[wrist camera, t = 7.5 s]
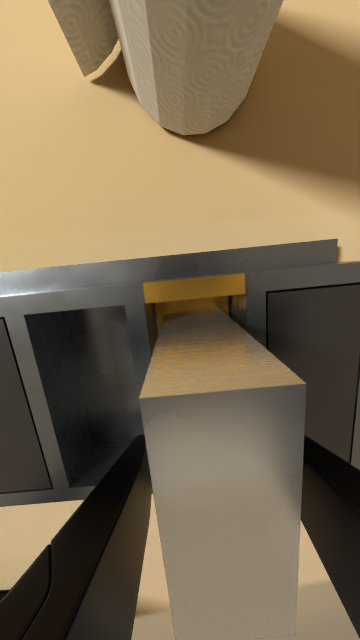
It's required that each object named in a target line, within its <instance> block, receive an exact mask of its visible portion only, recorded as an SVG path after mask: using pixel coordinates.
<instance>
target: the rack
mask: <svg viewBox="0 0 360 640" xmlns="http://www.w3.org/2000/svg"><path fill="white" fill-rule="evenodd" d="M337 242H338V239H330V240H320V241H310V242H300V243H290V244H280V245H270V246H260V247H250V248H240V249H230V250H220V251H210V252H200V253H190V254H180V255H170V256H159V257H149V258H139V259H129V260H119V261H109V262H99V263H89V264H79V265H69V266H59V267H49V268H39V269H29V270H19V271H9V272H0V507H4V506H15V505H27V504H38V503H50V502H61V501H73V500H84V499H86V498H87V496H88V495H89V494H90V493H91V491H92V490H93V489H94V488H95V487H96V485H97V484H98V483H99V482H100V480H101V479H102V478H103V477H104V476H105V474H106V473H107V472H108V471H109V469H110V468H111V467H112V466H113V464H114V463H115V462H116V461H117V460H118V458H119V457H120V456H121V455H122V453H123V452H124V451H125V450H126V449H127V447H128V446H129V445H130V444H131V442H132V441H133V440H134V439H135V437H136V436H137V435H140V434H144V428H143V422H142V415H141V408H140V402H139V397H140V394H141V390H142V387H143V384H144V381H145V377H146V374H147V371H148V368H149V364H150V361H151V358H152V355H153V351H154V348H155V345H156V342H157V339H158V335H159V332H160V329H161V326H162V322H163V319H164V316H165V314H168V313H178V312H189V311H200V310H211V309H220V310H222V311H223V312H224V313H225V314H226V315H227V316H229V317H230V318H231V319H232V320H233V321H234V322H236V323H237V324H238V325H239V326H240V327H241V328H243V329H244V330H245V331H246V332H247V333H248V334H250V335H251V336H252V337H253V338H254V339H255V340H256V341H258V342H259V343H260V344H261V345H262V346H263V347H265V348H266V349H267V350H268V351H269V352H270V353H272V354H273V355H274V356H275V357H276V358H277V359H279V360H280V361H281V362H282V363H283V364H284V365H286V366H287V367H288V368H289V369H290V370H291V371H293V372H294V373H295V374H296V375H297V376H298V377H299V378H301V379H302V380H303V381H304V382H305V383H306V384H307V385H306V407H305V430H304V435H306V436H307V437H309V438H310V439H312V440H314V441H315V442H317V443H318V444H320V445H321V446H323V447H325V448H326V449H328V450H329V451H331V452H332V453H334V454H336V455H337V456H339V457H340V458H342V459H343V460H345V461H347V462H348V463H350V464H351V465H353V466H355V467H356V468H358V469H359V470H360V261H350V262H336V257H337ZM151 494H153V488H152V492H151Z"/></svg>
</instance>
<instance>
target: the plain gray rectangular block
mask: <svg viewBox="0 0 360 640" xmlns="http://www.w3.org/2000/svg"><path fill="white" fill-rule="evenodd" d="M306 385H307V384H306V383H305V382H304V381H303V380H302V379H301V378H299V377H298V376H297V375H296V374H295V373H294V372H293V371H291V370H290V369H289V368H288V367H287V366H286V365H284V364H283V363H282V362H281V361H280V360H279V359H277V358H276V357H275V356H274V355H273V354H272V353H270V352H269V351H268V350H267V349H266V348H265V347H263V346H262V345H261V344H260V343H259V342H258V341H256V340H255V339H254V338H253V337H252V336H251V335H250V334H248V333H247V332H246V331H245V330H244V329H243V328H241V327H240V326H239V325H238V324H237V323H236V322H234V321H233V320H232V319H231V318H230V317H229V316H227V315H226V314H225V313H224V312H223V311H222V310H220V309H211V310H200V311H189V312H178V313H168V314H165V316H164V319H163V322H162V326H161V329H160V332H159V335H158V339H157V342H156V345H155V348H154V351H153V355H152V358H151V361H150V364H149V368H148V371H147V374H146V377H145V381H144V384H143V387H142V390H141V394H140V397H139V402H140V408H141V415H142V422H143V428H144V435H145V441H146V448H147V455H148V461H149V468H150V474H151V481H152V488H153V494H154V501H155V507H156V514H157V521H158V527H159V534H160V540H161V547H162V554H163V560H164V567H165V574H166V580H167V587H168V593H169V600H170V607H171V613H172V620H173V625H174V632H175V639H176V640H250V639H262V638H275V637H289V636H295V632H296V610H297V588H298V565H299V543H300V520H301V497H302V475H303V452H304V430H305V407H306Z"/></svg>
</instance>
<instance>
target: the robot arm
mask: <svg viewBox="0 0 360 640" xmlns="http://www.w3.org/2000/svg"><path fill="white" fill-rule="evenodd" d="M151 492H152V481H151V474H150V468H149V461H148V455H147V448H146V441H145V435H144V434H140V435H137V436H136V437H135V439H134V440H133V441H132V442H131V444H130V445H129V446H128V447H127V449H126V450H125V451H124V452H123V453H122V455H121V456H120V457H119V458H118V460H117V461H116V462H115V463H114V464H113V466H112V467H111V468H110V469H109V471H108V472H107V473H106V474H105V476H104V477H103V478H102V479H101V480H100V482H99V483H98V484H97V485H96V487H95V488H94V489H93V490H92V491H91V493H90V494H89V495H88V496H87V498H86V499H85V500H84V501H83V502H82V504H81V505H80V506H79V507H78V509H77V510H76V511H75V512H74V514H73V515H72V516H71V517H70V518H69V520H68V521H67V522H66V523H65V525H64V526H63V527H62V528H61V529H60V531H59V532H58V533H57V534H56V536H55V537H54V538H53V539H52V541H51V545H50V544H49V545H47V546H46V548H45V549H44V550H43V551H42V553H41V554H40V555H39V556H38V557H37V559H36V560H35V561H34V562H33V564H32V565H31V566H30V567H29V568H28V569H27V571H26V572H25V573H24V574H23V575H22V577H21V578H20V579H19V580H18V581H17V583H16V584H15V585H14V586H13V587H12V588H11V590H10V591H9V592H8V593H0V640H131V637H132V630H133V624H134V618H135V611H136V605H137V598H138V591H139V585H140V578H141V572H142V565H143V559H144V552H145V546H146V539H147V533H148V526H149V519H150V508H151ZM301 521H302V523H303V525H304V527H305V529H306V531H307V533H308V535H309V537H310V539H311V541H312V543H313V545H314V547H315V549H316V551H317V553H318V555H319V557H320V559H321V561H322V563H323V565H324V567H325V569H326V571H327V573H328V575H329V577H330V579H331V581H332V583H333V585H334V587H335V590H336V591H337V593H338V596H339V597H340V600H341V602H342V604H343V606H344V607H345V610H346V612H347V614H348V616H349V617H350V620H351V622H352V624H353V626H354V628H355V630H356V632H357V634H358V636H359V638H360V470H359V469H358V468H356V467H355V466H353V465H351V464H350V463H348V462H347V461H345V460H343V459H342V458H340V457H339V456H337V455H336V454H334V453H332V452H331V451H329V450H328V449H326V448H325V447H323V446H321V445H320V444H318V443H317V442H315V441H314V440H312V439H310V438H309V437H307V436H306V435H304V452H303V475H302V497H301Z"/></svg>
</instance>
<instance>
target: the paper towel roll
mask: <svg viewBox="0 0 360 640" xmlns="http://www.w3.org/2000/svg"><path fill="white" fill-rule="evenodd" d="M48 2H49V4H50V6H51V8H52V10H53V12H54V14H55V16H56V18H57V20H58V23H59V25H60V27H61V29H62V31H63V33H64V35H65V37H66V39H67V41H68V43H69V46H70V48H71V50H72V52H73V54H74V56H75V58H76V60H77V62H78V64H79V67H80V69H81V71H82V73H83V75H84V77H85V76H87V75H89V74H91V73H92V72H94V71H96V70H97V69H98V68H99V67H100V65H101V64H102V63H103V62H104V61H105V60H106V58H107V57H108V56H109V55H110V54H111V53H112V51H113V49H114V47H115V45H116V43H117V41H118V39H119V41H120V45H121V49H122V53H123V57H124V61H125V65H126V69H127V73H128V77H129V80H130V82H131V84H132V87H133V89H134V91H135V93H136V95H137V98H138V100H139V102H140V104H141V106H142V108H143V109H144V110H145V111H146V112H147V113H148V114H149V115H150V116H151V117H152V118H153V119H154V120H155V121H156V122H157V123H158V124H159V125H160V126H161V127H164V128H166V129H169V130H171V131H174V132H176V133H179V134H181V135H192V134H205V133H207V132H209V131H211V130H213V129H214V128H216V127H218V126H220V125H221V124H223V123H225V122H227V121H228V120H229V118H230V117H231V116H232V114H233V113H234V112H235V111H236V109H237V108H238V107H239V105H240V104H241V103H242V102H243V100H244V99H245V98H246V95H247V93H248V90H249V88H250V85H251V82H252V80H253V77H254V75H255V72H256V69H257V67H258V64H259V62H260V59H261V57H262V54H263V51H264V49H265V46H266V44H267V41H268V38H269V36H270V33H271V31H272V28H273V26H274V23H275V20H276V18H277V15H278V13H279V10H280V7H281V5H282V2H283V0H48Z"/></svg>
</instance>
